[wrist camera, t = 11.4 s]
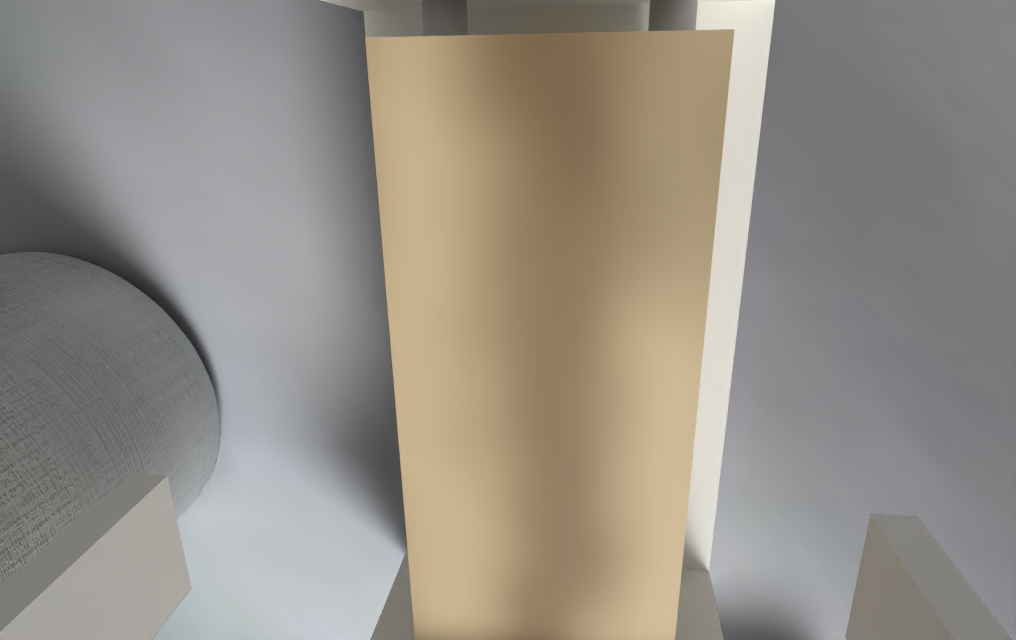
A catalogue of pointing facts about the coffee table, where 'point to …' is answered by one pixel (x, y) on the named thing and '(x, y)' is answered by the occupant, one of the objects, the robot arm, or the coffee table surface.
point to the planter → (91, 399)
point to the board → (547, 319)
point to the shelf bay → (749, 11)
